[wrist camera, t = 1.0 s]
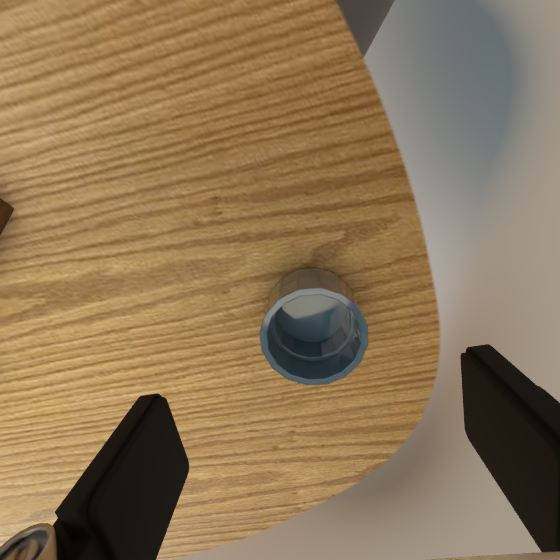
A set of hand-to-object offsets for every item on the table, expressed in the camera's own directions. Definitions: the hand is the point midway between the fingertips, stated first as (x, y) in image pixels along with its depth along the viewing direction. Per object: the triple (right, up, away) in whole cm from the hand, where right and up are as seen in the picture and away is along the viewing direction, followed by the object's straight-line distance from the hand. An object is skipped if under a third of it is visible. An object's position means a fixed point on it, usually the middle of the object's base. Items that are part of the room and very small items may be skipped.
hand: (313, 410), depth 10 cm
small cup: (+2, +2, +18) cm, 18 cm away
